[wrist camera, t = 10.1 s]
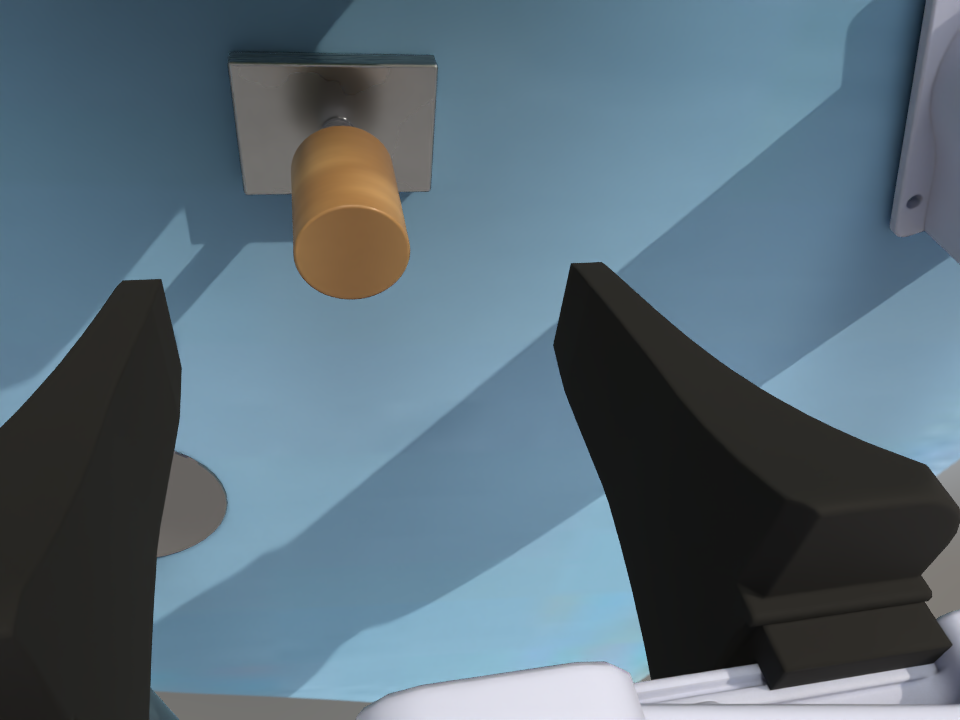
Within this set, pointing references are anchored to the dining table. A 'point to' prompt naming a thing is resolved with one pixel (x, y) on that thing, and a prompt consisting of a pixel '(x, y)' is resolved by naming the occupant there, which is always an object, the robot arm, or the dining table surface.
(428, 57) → the masher
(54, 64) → the dining table surface
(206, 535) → the wine glass
